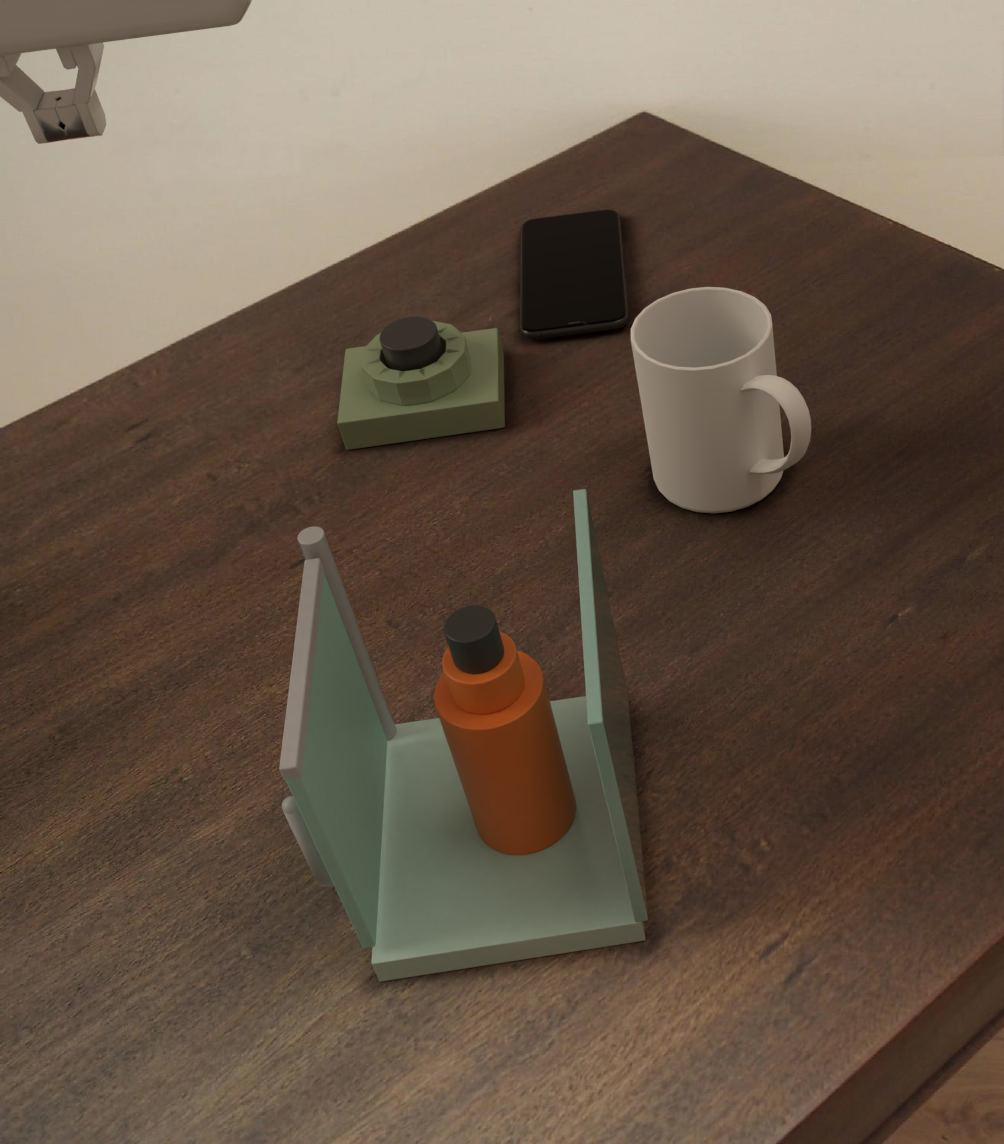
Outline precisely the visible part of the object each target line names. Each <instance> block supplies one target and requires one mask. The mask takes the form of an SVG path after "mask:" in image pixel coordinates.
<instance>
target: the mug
mask: <svg viewBox="0 0 1004 1144" xmlns="http://www.w3.org/2000/svg"><path fill="white" fill-rule="evenodd" d="M774 339H775V338H774V328H773V320H772V314H771V312H770V311H769V309H768V307H767V306H766V304H765V303H763V302H762V301H760V300H759V298H757V297H756V296H753V295H751V294H749V293H747V292H744V291H741V290H737V289H732V288H729V287H719V286H718V287H717V286H703V287H702V286H701V287H693V288H687V289H683V290H679V291H675V292H672V293H669V294H667V295H665V296H663V297H660V298H657V299H655V301H653V302H651V303H650V304H649V305H647V306H646V307H644V308H643V309H642V310H641V311H640V313H639V314H638V315H637V316H636V317H635V318H634V321H633V323H632V326H631V328H630V344H631V351H632V356H633V362H634V368H635V375H636V381H637V386H638V392H639V400H640V404H641V411H642V417H643V424H644V429H645V436H646V441H647V447H648V453H649V459H650V466H651V471H652V472H651V473H652V477H653V481H654V484H655V485H656V488H657V489H658V491H659V492H660V493H661V494H662V495H663V497H665V498H666V500H668V502H670V503H672V504H674V505H676V506H677V507H679V508H681V509H684V510H688V511H691V512H694V513H704V514H722V513H728V512H729V513H731V512H734V511H738V510H742V509H745V508H748V507H750V506H752V505H754V504H756V503H758V502H761V501H763V499H764V498H766V497H768V495H769V494H771V493H772V492H773V491H774V490H775V488H776V487H777V485H778V484H779V482H780V481H781V479H782V476H783V473H784V471H785V470H787V469H789V468H790V467H793V465H795V464H797V463H798V462H799V461H800V460H801V459H802V458H803V457H804V456H805V455H806V452H807V450H808V447H809V445H810V442H811V437H812V420H811V419H812V418H811V415H810V410H809V406H808V405H807V403H806V400H805V398H804V396H803V395H802V394H801V392H800V390H799V389H798V388H797V387H796V386H795V385H794V384H793V383H792V382H791V381H789V380H787V379H786V378H784V377H781V376H778V375H777V373H778V372H777V363H776V352H775V340H774ZM780 407H781V408H782V409H783V411H784V414H785V415H786V418H787V419H788V424H789V428H790V445H789V446H790V447H789V450H788V452H787V455H785V454H784V453H785V452H784V443H783V442H784V441H783V440H784V439H783V432H782V431H783V429H782V419H781V409H780Z"/></svg>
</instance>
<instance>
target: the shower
mask: <svg viewBox="0 0 1004 1144" xmlns="http://www.w3.org/2000/svg"><path fill="white" fill-rule="evenodd" d="M588 497H589V496H588V491H587V489H586V488H581V489H574V490H573V492H572V498H573V500H572V501H573V513H574V528H575V529H574V531H575V546H576V561H577V576H578V579H577V580H578V592H579V594H578V595H579V610H580V625H581V626H580V627H581V640H582V642H581V643H582V656H583V657H582V658H583V672H584V687H585V688H584V689H585V695H582V696H577V697H576V696H575V697H569V698H562V699H556V700H555V699H554V700H550V704H551V708H552V711H553V715H554V719H555V723H556V727H557V731H558V734H559V738H560V742H561V746H562V750H563V754H564V758H565V761H566V765H567V769H568V773H569V777H570V781H571V785H572V788H573V792H574V796H575V800H576V814H575V818H574V821H573V823H572V825H571V827H570V828H569V830H568V831H567V833H566V834H565V835H564V836H563V837H562V838H561V839H560V840H559V841H557V842H556V843H555V844H553V845H551V846H550V847H548V848H546V849H544V850H541V851H539V852H535V853H531V854H526V855H510V854H505V853H501V852H498V851H496V850H494V849H492V848H491V847H489V846H488V845H487V844H485V842H484V841H483V840H482V839H481V837H480V836H479V834H478V832H477V829H476V826H475V823H474V820H473V817H472V814H471V811H470V808H469V805H468V802H467V799H466V796H465V793H464V790H463V787H462V784H461V781H460V779H459V776H458V773H457V770H456V767H455V764H454V761H453V758H452V755H451V752H450V749H449V746H448V743H447V740H446V737H445V734H444V731H443V728H442V725H441V722H440V719H439V717H434V718H428V719H421V720H416V721H415V720H414V721H408V722H400V723H396V722H395V720H394V717H393V714H392V711H391V708H390V706H389V704H388V701H387V698H386V696H385V692H384V690H383V687H382V684H381V683H380V682H381V681H380V680H379V676H378V673H377V671H376V668H375V665H374V663H373V660H372V657H371V655H370V652H369V649H368V646H367V644H366V641H365V638H364V635H363V633H362V631H361V628H360V624H359V622H358V619H357V616H356V613H355V612H354V608H353V606H352V603H351V600H350V597H349V595H348V592H347V589H346V588H345V584H344V581H343V579H342V575H341V573H340V570H339V568H338V566H337V565H338V564H337V562H336V560H335V557H334V555H333V552H332V549H331V545H330V543H329V541H328V537H327V535H326V532H325V530H324V529H323V528H322V527H320V526H317V525H316V526H308V527H306V528H303V529H302V530H301V531H300V532H299V533H298V535H297V537H296V539H297V542H298V545H299V548H300V550H301V553H302V556H303V557H304V561H305V560H309V559H316V558H319V559H320V560H321V563H322V566H323V568H324V574H325V577H326V579H327V582H328V585H329V587H330V590H331V593H332V595H333V598H334V601H335V603H336V606H337V608H338V611H339V614H340V616H341V619H342V622H343V624H344V627H345V630H346V632H347V635H348V638H349V640H350V643H351V646H352V648H353V651H354V653H355V656H356V659H357V661H358V664H359V667H360V669H361V672H362V675H363V677H364V680H365V683H366V685H367V688H368V691H369V693H370V696H371V698H372V701H373V704H374V706H375V709H376V712H377V714H378V717H379V720H380V722H381V725H382V728H383V730H384V733H385V736H386V738H387V757H386V774H385V792H384V809H383V826H382V844H381V861H380V878H379V896H378V913H377V930H376V945H375V946H374V947H371V962H370V964H371V966H372V968H373V970H374V973H375V975H376V977H377V979H378V981H379V982H380V983H381V982H388V981H394V980H399V979H400V980H401V979H407V978H414V977H419V976H420V977H421V976H426V975H431V974H432V975H433V974H439V973H446V972H452V971H459V970H464V969H465V970H466V969H470V968H477V967H478V968H479V967H484V966H491V965H497V964H503V963H510V962H516V961H523V960H528V959H535V958H542V957H547V956H555V955H561V954H567V953H568V954H569V953H574V952H581V951H587V950H593V949H600V948H607V947H612V946H619V945H626V944H631V943H637V942H644V941H646V938H647V937H646V926H645V922H646V921H648V919H649V914H648V904H647V894H646V893H647V892H646V881H645V871H644V859H643V858H644V857H643V849H642V837H641V826H640V815H639V803H638V791H637V781H636V771H635V759H634V747H633V746H634V745H633V736H632V724H631V715H630V713H631V712H630V704H629V703H630V702H629V692H628V686H627V680H626V675H625V671H624V666H623V661H622V656H621V650H620V647H619V641H618V637H617V633H616V628H615V622H614V618H613V612H612V607H611V603H610V599H609V594H608V593H609V592H608V588H607V584H606V579H605V574H604V568H603V564H602V560H601V555H600V549H599V545H598V540H597V536H596V530H595V526H594V521H593V516H592V510H591V506H590V502H589V498H588Z"/></svg>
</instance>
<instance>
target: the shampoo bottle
mask: <svg viewBox="0 0 1004 1144" xmlns="http://www.w3.org/2000/svg"><path fill="white" fill-rule="evenodd" d="M443 633H444V637H445V640H446V643H447V645H448V646H447V648H446V650H445V651H444V653H443V655H442V660H441V665H442V666H441V667H442V669H443V670H442V671H443V673H442V674H441V675H440V676H439V678H438V679H437V682H436V684H435V687H434V691H433V703H434V707H435V710H436V712H437V716H438V718H439V719H440V722H441V725H442V728H443V731H444V734H445V737H446V740H447V743H448V746H449V749H450V752H451V755H452V758H453V761H454V764H455V767H456V770H457V773H458V776H459V779H460V781H461V784H462V787H463V790H464V793H465V796H466V799H467V802H468V805H469V808H470V811H471V814H472V817H473V820H474V823H475V826H476V829H477V832H478V834H479V836H480V837H481V839H482V840H483V841H484V842H485V844H487V845H488V846H489V847H491V848H492V849H494V850H496V851H498V852H501V853H505V854H510V855H526V854H531V853H535V852H539V851H541V850H544V849H546V848H548V847H550V846H551V845H553V844H555V843H556V842H557V841H559V840H560V839H561V838H562V837H563V836H564V835H565V834H566V833H567V831H568V830H569V828H570V827H571V825H572V823H573V821H574V818H575V814H576V800H575V796H574V792H573V788H572V785H571V781H570V777H569V773H568V769H567V765H566V761H565V758H564V754H563V750H562V746H561V742H560V738H559V734H558V731H557V727H556V723H555V719H554V715H553V711H552V708H551V704H550V701H551V699H550V695H549V693H548V688H547V684H546V680H545V677H544V674H543V671H542V668H541V666H540V665H539V664H538V662H537V661H536V660H535V659H534V658H532V656H530V655H529V654H528V653H525V652H523V651H521V650H518V649H517V645H516V643H515V641H514V640H513V639H512V637H510V635H508V634H506V633H504V632H502V631H500V628H499V624H498V621H497V617H496V615H495V613H494V611H492V610H491V609H490V608H488V607H487V606H483V605H478V604H472V605H471V604H469V605H466V606H461V607H460V608H458V609H456V610H454V611H453V612H451V613H450V614H449V615H448V616H447V618H446V619H445V621H444V625H443Z"/></svg>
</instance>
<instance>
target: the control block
mask: <svg viewBox="0 0 1004 1144" xmlns="http://www.w3.org/2000/svg"><path fill="white" fill-rule="evenodd" d="M432 321H433V322H434V323H435V324H436V326H437V329H438V333H439V337H440V341H441V344H442V348H443V352H442V355H441V357H440V358H439V360H438V361H437V362H435V363H433V364H431V365H428V366H426V367H424V368H422V369H417V370H410V371H398V370H393V369H392V368H390V367H389V366H388V365H387V363H386V360H385V357H384V353H383V350H382V347H381V343H380V339H379V338H380V334H381V332H380V333H378V334H376V335H375V336H374V337H373V338H372V339H371V340H370V341H369V343H367V344H366V345H364V346H356V347H350V348H349V347H348V348H346V349H345V351H344V359H343V368H342V377H341V387H340V394H339V402H338V403H339V405H338V412H337V421H336V422H337V427H338V429H339V434H340V436H341V438H342V439H341V440H342V441H343V445H344V448H345V450H346V451H351V450H357V449H363V448H373V447H377V446H384V445H392V444H399V443H400V444H401V443H406V442H407V443H408V442H412V441H413V442H414V441H420V440H428V439H434V438H435V439H436V438H443V437H448V436H455V435H464V434H469V433H470V434H471V433H476V432H477V433H478V432H483V431H484V432H485V431H491V430H497V429H504V428H506V417H505V415H506V414H505V413H506V410H505V409H506V407H505V353H504V350H503V345H502V342H501V336H500V332H499V328H498V327H493V328H486V329H478V330H472V331H464V332H462V331H460V330H459V329H458V328H456V327H455V326H454V325H453V324H451V323H446V322H441V321H436V320H432Z"/></svg>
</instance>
